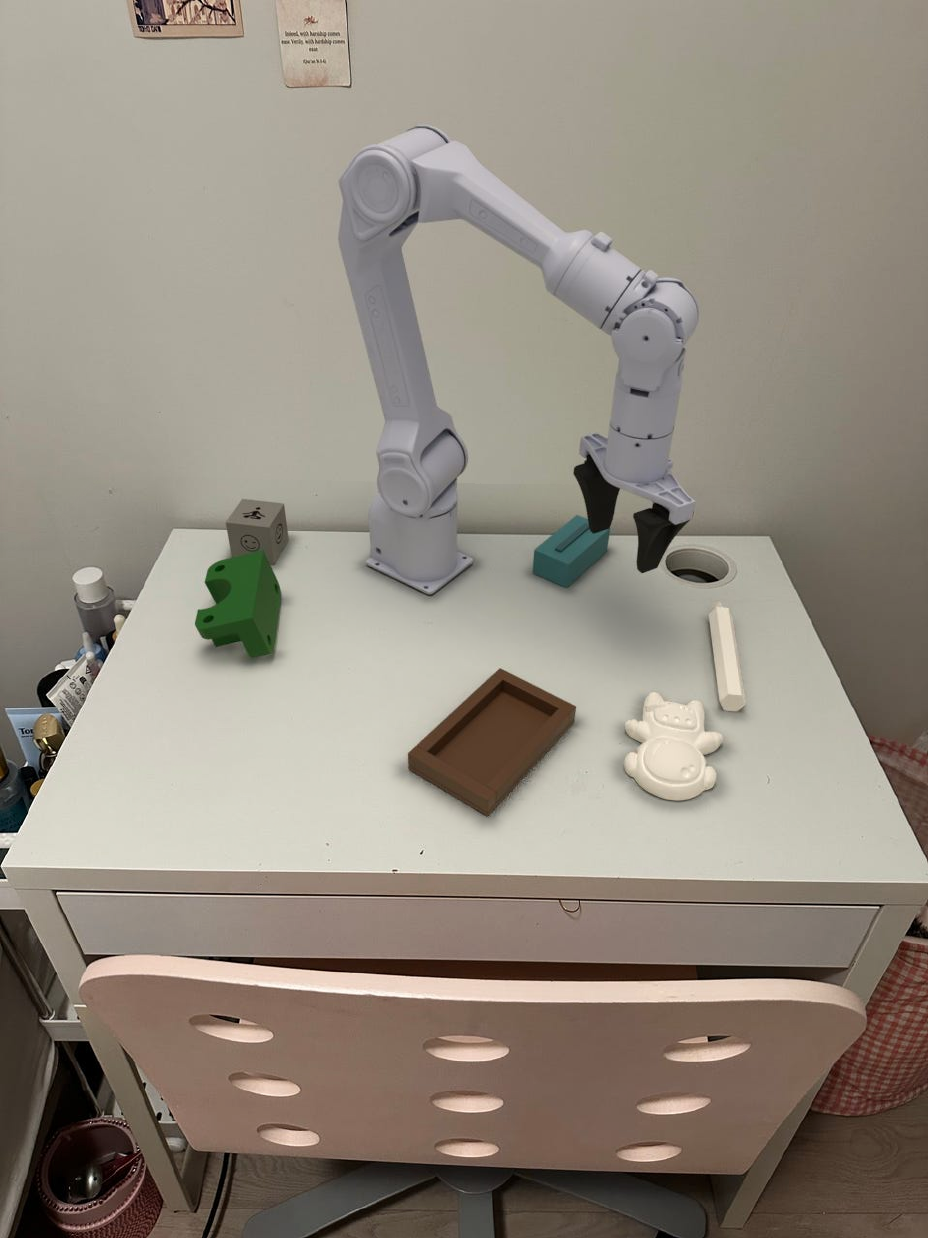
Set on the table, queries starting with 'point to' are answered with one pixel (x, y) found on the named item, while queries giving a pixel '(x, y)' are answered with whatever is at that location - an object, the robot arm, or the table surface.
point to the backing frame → (491, 740)
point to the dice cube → (258, 529)
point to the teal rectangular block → (569, 552)
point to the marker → (726, 659)
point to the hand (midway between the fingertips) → (622, 548)
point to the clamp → (242, 604)
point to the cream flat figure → (671, 749)
